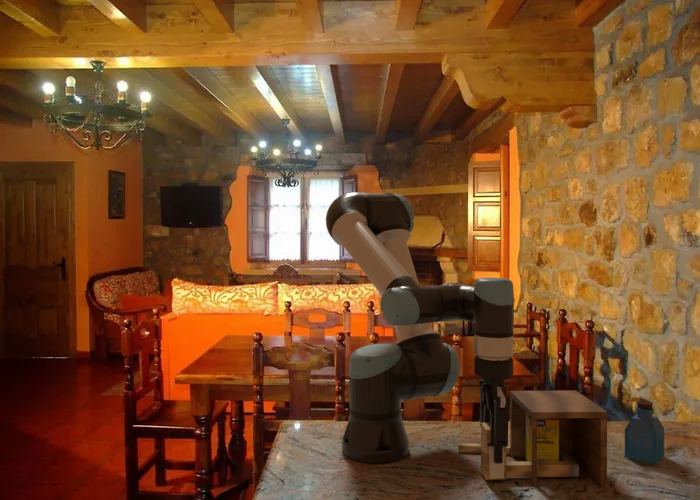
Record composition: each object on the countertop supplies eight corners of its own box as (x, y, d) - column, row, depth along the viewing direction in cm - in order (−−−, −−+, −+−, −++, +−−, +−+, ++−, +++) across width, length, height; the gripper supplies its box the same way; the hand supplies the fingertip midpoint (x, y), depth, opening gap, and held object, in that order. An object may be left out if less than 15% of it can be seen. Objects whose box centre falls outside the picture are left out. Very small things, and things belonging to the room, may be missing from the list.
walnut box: (532, 484, 109) (532, 412, 108) (510, 454, 124) (510, 390, 123) (606, 484, 109) (607, 411, 108) (575, 454, 124) (575, 390, 123)
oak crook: (485, 480, 110) (486, 429, 109) (471, 455, 122) (472, 410, 121) (581, 479, 110) (581, 428, 110) (557, 454, 122) (558, 409, 122)
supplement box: (559, 473, 114) (559, 420, 114) (529, 471, 115) (529, 418, 115) (554, 461, 120) (554, 411, 119) (525, 460, 121) (525, 409, 120)
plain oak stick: (458, 453, 126) (458, 445, 126) (458, 450, 127) (458, 442, 127) (513, 456, 124) (513, 448, 124) (512, 453, 125) (512, 445, 125)
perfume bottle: (624, 457, 122) (625, 402, 122) (633, 449, 126) (633, 396, 126) (656, 465, 118) (656, 408, 117) (664, 456, 122) (664, 402, 122)
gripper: (526, 366, 102) (526, 492, 103) (500, 346, 119) (499, 455, 120) (486, 366, 102) (485, 492, 103) (465, 347, 119) (465, 455, 120)
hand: (493, 472), depth 112 cm, fingers closed on oak crook, 4 cm apart
